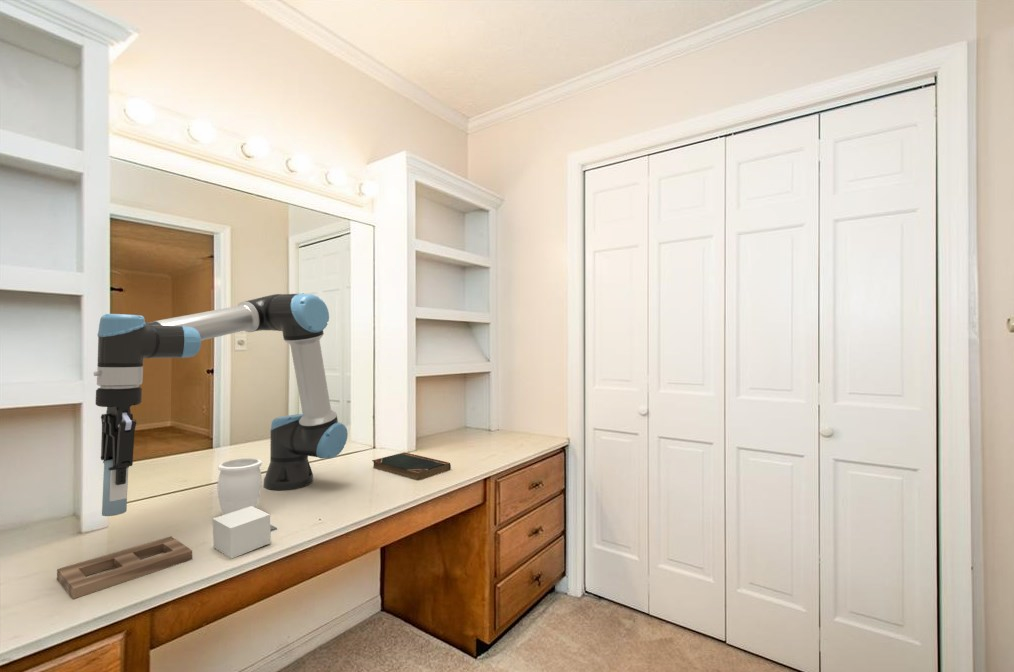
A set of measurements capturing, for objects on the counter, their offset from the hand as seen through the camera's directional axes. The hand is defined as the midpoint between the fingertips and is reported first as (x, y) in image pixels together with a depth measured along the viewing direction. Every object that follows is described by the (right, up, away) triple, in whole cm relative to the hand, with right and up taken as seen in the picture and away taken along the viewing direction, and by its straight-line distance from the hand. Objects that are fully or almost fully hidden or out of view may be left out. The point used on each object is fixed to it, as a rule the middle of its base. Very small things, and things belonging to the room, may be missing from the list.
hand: (114, 496), depth 99 cm
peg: (0, -3, 0) cm, 3 cm away
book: (+46, -18, +80) cm, 94 cm away
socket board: (+2, -16, +1) cm, 16 cm away
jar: (+9, -16, +31) cm, 36 cm away
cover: (+20, -16, +13) cm, 29 cm away
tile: (+19, -16, +22) cm, 33 cm away
